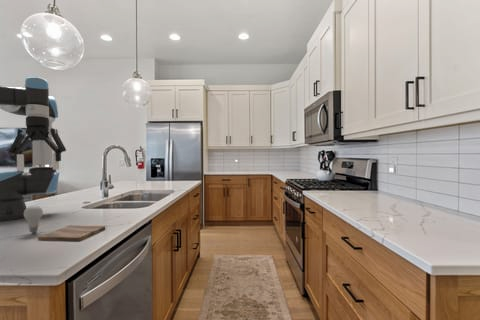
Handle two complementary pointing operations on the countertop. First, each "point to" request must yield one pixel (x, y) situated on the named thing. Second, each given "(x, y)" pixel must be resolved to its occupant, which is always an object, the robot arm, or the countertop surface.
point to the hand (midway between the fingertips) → (38, 170)
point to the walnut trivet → (72, 233)
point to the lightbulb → (33, 217)
